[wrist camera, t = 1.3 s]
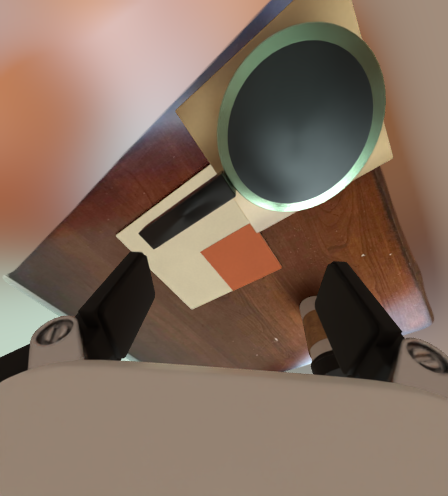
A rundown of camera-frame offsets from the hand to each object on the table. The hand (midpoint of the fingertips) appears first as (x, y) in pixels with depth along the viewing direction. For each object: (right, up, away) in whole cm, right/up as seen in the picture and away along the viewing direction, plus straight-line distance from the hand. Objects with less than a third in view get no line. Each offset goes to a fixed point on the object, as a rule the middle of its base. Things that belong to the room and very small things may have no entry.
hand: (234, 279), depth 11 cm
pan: (+1, +8, +6) cm, 10 cm away
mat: (-5, +1, +27) cm, 27 cm away
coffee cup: (+19, -11, +32) cm, 39 cm away
